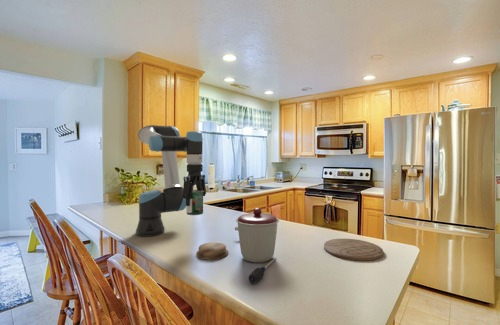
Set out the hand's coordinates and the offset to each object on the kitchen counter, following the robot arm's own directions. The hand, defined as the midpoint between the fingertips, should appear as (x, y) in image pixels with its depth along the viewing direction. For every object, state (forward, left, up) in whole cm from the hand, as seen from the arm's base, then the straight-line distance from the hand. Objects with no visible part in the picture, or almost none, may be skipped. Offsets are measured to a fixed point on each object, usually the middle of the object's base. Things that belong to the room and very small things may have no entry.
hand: (194, 210), depth 128 cm
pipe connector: (+17, +19, -17) cm, 31 cm away
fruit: (+19, +41, -17) cm, 48 cm away
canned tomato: (0, 0, -2) cm, 2 cm away
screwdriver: (+42, -12, -17) cm, 47 cm away
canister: (+34, -2, -17) cm, 38 cm away
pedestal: (+14, -6, -17) cm, 23 cm away
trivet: (+69, +25, -17) cm, 76 cm away
